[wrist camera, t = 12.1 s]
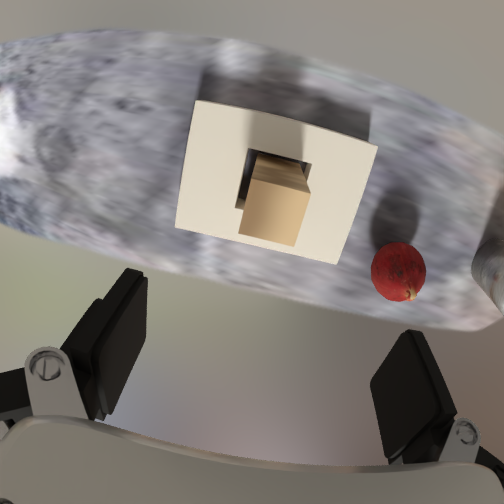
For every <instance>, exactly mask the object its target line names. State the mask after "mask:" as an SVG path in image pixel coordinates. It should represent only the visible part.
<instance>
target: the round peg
mask: <svg viewBox="0 0 504 504" xmlns="http://www.w3.org/2000/svg"><path fill="white" fill-rule="evenodd" d="M471 273H472V277H473V279H474V280H475V281H476V282H477V284H478V285H479V286H480V287H481V288H482V290H483V291H484V292H485V293H486V294H487V296H488V297H489V298H490V299H491V300H492V302H493V303H494V304H495V305H496V307H497V308H498V309H499V310H500V312H501V313H502V314H503V316H504V241H502V240H501V239H492V240H490V241H488V242H486V243H485V244H484V245H483V246H482V247H481V248H480V249H479V250H478V252H477V253H476V255H475V257H474V259H473V262H472V267H471Z"/></svg>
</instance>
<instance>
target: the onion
mask: <svg viewBox="0 0 504 504" xmlns="http://www.w3.org/2000/svg"><path fill="white" fill-rule="evenodd" d="M425 276H426V267H425V264H424V260H423V258H422V256H421V254H420V253H419V252H418V251H417V250H416V249H415V248H414V247H413V246H411V245H409V244H406V243H404V242H394V243H389V244H387V245H385V246H383V247H381V249H380V250H379V251H378V252H377V253H376V255H375V256H374V259H373V262H372V265H371V280H372V282H373V284H374V286H375V288H376V289H377V291H378V292H379V293H380V294H381V295H382V296H384V297H385V298H386V299H388V300H391V301H398V302H400V301H405V300H407V301H412V300H414V298H415V297H416V296H417V293H418V292H419V291H420V289H421V288H422V286H423V284H424V282H425Z"/></svg>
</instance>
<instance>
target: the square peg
mask: <svg viewBox="0 0 504 504" xmlns="http://www.w3.org/2000/svg"><path fill="white" fill-rule="evenodd" d="M310 196H311V192H310V190H309V187H308V184H307V182H306V179H305V177H304V174H303V171H302V169H301V166H300V164H299V163H296V162H292V161H288V160H284V159H281V158H277V157H273V156H269V155H265V154H261V153H258V156H257V159H256V163H255V167H254V170H253V174H252V178H251V182H250V186H249V190H248V194H247V198H246V202H245V206H244V211H243V215H242V219H241V223H240V227H239V231H238V234H242V235H247V236H251V237H255V238H259V239H263V240H267V241H272V242H276V243H280V244H284V245H288V246H292V247H294V246H295V243H296V240H297V237H298V233H299V230H300V227H301V224H302V221H303V218H304V215H305V212H306V208H307V205H308V202H309V199H310Z"/></svg>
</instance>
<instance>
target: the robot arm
mask: <svg viewBox="0 0 504 504" xmlns="http://www.w3.org/2000/svg"><path fill="white" fill-rule="evenodd" d="M147 287H148V278H147V277H144V276H143V272H141V271H138V270H134V269H130V268H126V269H125V271H124V272H123V273H122V275H121V276H120V277H119V278H118V280H117V281H116V283H115V284H114V285H113V286H112V288H111V289H110V290H109V292H108V293H107V294H106V296H105V297H104V299H103V300H102V299H99V298H98V299H96V300H95V301H94V302H93V303H92V305H91V306H90V307H89V308H88V310H87V311H86V312H85V314H84V315H83V317H82V318H81V319H80V321H79V322H78V323H77V325H76V326H75V328H74V329H73V330H72V332H71V333H70V335H69V336H68V338H67V339H66V341H65V342H64V343H63V345H62V346H61V348H60V349H58V348H54V347H41V348H39V349H36V350H34V351H33V352H31V353H30V355H29V356H28V357H27V359H26V361H25V367H24V368H19V369H15V370H11V371H7V372H3V373H0V504H504V464H503V463H502V462H501V461H500V460H498V459H497V458H496V457H494V456H493V455H492V454H490V453H489V452H488V451H487V450H485V449H483V447H481V446H480V441H481V436H480V431H479V429H478V427H477V426H476V425H475V424H474V423H473V422H472V421H471V420H469V419H467V418H458V419H457V420H454V416H455V415H456V414H457V410H456V408H455V406H454V403H453V400H452V398H451V395H450V393H449V390H448V388H447V386H446V383H445V381H444V379H443V376H442V374H441V372H440V369H439V367H438V365H437V363H436V360H435V358H434V356H433V354H432V352H431V349H430V347H429V345H428V343H427V341H426V339H425V337H424V335H423V333H422V332H420V331H416V330H410V329H408V330H406V331H405V332H403V333H402V334H401V335H400V336H399V338H398V340H397V341H396V343H395V344H394V346H393V347H392V349H391V351H390V352H389V354H388V355H387V357H386V358H385V360H384V361H383V363H382V364H381V366H380V367H379V369H378V370H377V372H376V373H375V375H374V376H373V377H372V379H371V382H370V388H371V393H372V397H373V401H374V406H375V410H376V415H377V420H378V425H379V430H380V435H381V440H382V445H383V450H384V455H385V457H386V458H388V463H389V465H382V466H328V465H327V466H325V465H308V464H294V463H284V462H274V461H266V460H258V459H251V458H244V457H238V456H231V455H226V454H220V453H215V452H210V451H205V450H200V449H196V448H191V447H187V446H183V445H178V444H175V443H171V442H166V441H163V440H159V439H155V438H151V437H148V436H144V435H141V434H137V433H134V432H131V431H128V430H124V429H121V428H117V427H114V426H110V425H107V424H104V423H100V422H96V421H94V420H95V418H96V419H99V420H102V421H104V419H105V417H106V415H107V414H109V415H111V414H112V413H113V411H114V409H115V406H116V404H117V402H118V399H119V397H120V395H121V393H122V390H123V388H124V386H125V383H126V381H127V379H128V377H129V374H130V372H131V370H132V368H133V366H134V364H135V361H136V359H137V357H138V355H139V353H140V351H141V348H142V347H143V344H144V342H145V338H146V317H147ZM402 463H403V464H402Z"/></svg>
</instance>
